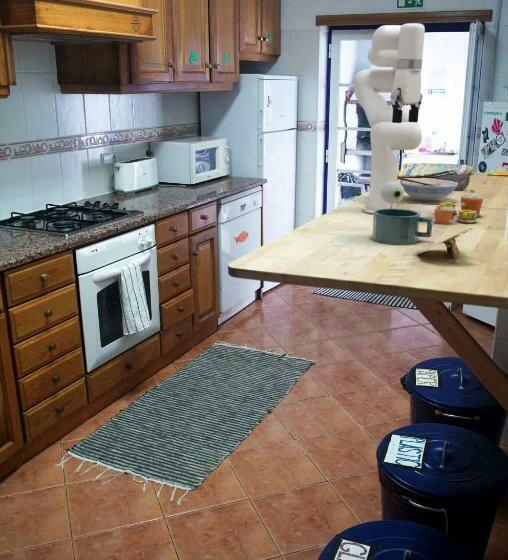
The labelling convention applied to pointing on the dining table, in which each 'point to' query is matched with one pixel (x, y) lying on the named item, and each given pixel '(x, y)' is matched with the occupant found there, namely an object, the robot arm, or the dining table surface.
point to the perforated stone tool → (457, 180)
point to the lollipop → (392, 192)
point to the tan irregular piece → (452, 245)
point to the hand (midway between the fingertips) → (405, 122)
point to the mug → (399, 226)
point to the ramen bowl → (427, 188)
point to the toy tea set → (468, 211)
